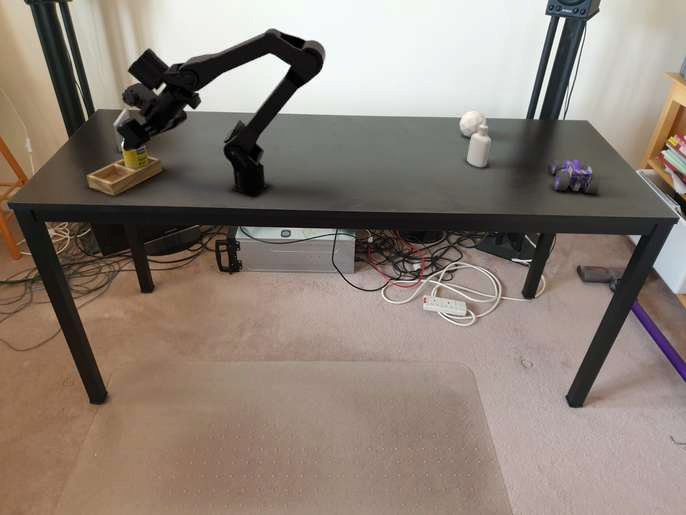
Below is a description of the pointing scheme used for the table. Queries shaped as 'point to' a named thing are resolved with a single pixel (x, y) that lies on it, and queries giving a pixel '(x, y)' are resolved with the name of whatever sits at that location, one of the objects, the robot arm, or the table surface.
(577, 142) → the table surface
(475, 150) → the eye dropper bottle
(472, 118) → the geometric ball
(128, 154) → the supplement bottle
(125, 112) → the cassette
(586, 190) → the toy race car
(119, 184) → the tray
